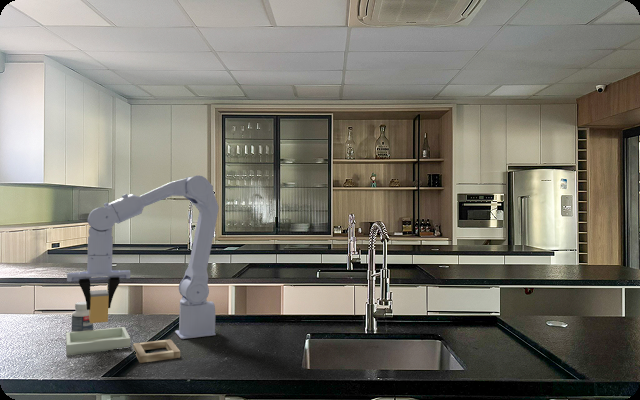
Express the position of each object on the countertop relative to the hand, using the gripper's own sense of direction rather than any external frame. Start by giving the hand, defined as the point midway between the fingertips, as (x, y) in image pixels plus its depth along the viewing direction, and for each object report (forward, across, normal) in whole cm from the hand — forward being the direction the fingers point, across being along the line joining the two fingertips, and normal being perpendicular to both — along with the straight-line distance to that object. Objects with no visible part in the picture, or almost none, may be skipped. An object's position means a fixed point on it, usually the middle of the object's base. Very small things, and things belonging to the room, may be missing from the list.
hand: (98, 308), depth 119 cm
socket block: (+9, +12, -13) cm, 20 cm away
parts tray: (+9, 0, 0) cm, 9 cm away
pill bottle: (+10, -3, +11) cm, 15 cm away
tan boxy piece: (+3, 0, 0) cm, 3 cm away
